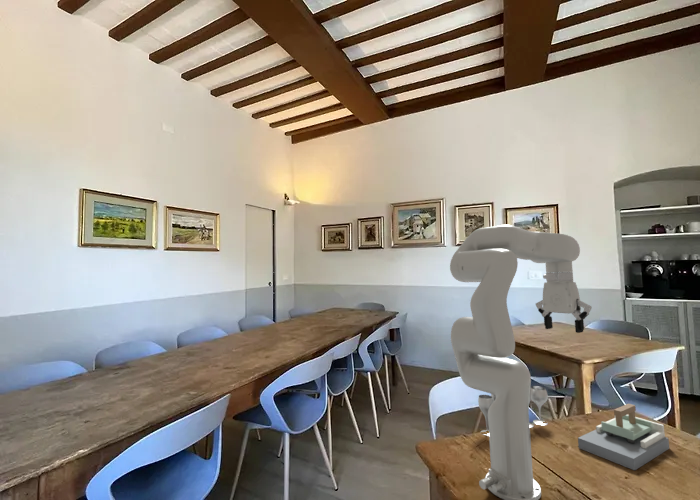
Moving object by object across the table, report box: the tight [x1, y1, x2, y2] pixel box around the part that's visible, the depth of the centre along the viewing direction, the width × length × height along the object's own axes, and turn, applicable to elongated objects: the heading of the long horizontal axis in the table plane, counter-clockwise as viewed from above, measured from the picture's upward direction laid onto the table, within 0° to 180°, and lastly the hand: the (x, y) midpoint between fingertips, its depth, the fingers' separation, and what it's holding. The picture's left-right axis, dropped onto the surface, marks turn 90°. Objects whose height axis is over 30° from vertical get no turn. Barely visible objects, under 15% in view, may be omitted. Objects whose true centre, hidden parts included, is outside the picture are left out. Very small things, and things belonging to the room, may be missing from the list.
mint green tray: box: [600, 403, 652, 444], centre depth 103 cm, size 12×8×8 cm, turn 119°
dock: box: [577, 414, 670, 471], centre depth 102 cm, size 22×14×6 cm, turn 119°
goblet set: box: [477, 385, 549, 437], centre depth 118 cm, size 28×6×13 cm, turn 107°
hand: (563, 330), depth 111 cm, fingers open, 9 cm apart
